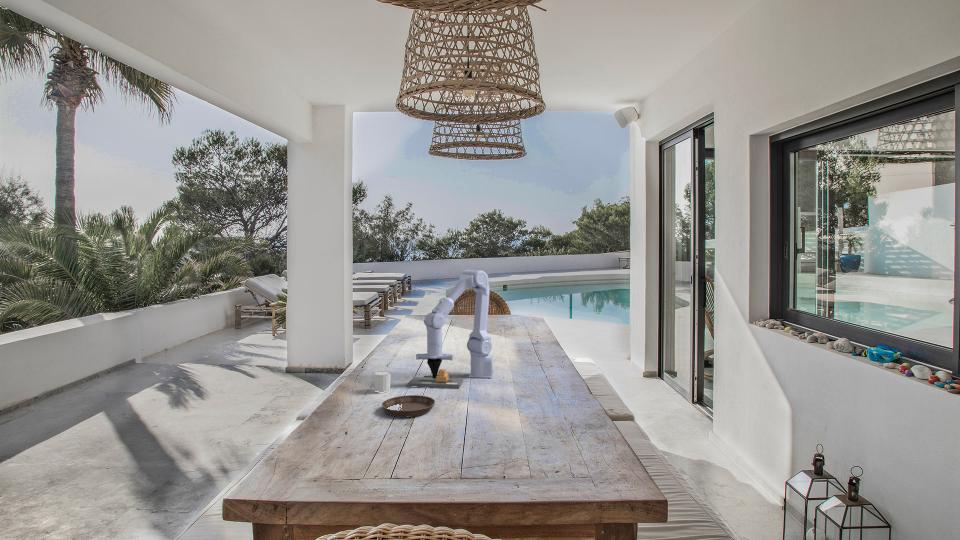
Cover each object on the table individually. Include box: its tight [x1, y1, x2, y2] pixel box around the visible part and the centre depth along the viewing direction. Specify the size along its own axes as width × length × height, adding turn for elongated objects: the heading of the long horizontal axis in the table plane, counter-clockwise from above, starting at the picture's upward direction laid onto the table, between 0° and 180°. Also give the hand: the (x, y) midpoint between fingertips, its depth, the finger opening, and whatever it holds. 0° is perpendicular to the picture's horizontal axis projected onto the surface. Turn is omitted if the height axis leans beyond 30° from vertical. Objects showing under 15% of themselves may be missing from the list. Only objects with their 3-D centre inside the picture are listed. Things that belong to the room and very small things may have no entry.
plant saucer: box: [381, 394, 436, 418], centre depth 196 cm, size 18×18×3 cm
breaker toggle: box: [436, 368, 450, 382], centre depth 229 cm, size 4×5×4 cm
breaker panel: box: [407, 376, 464, 390], centre depth 230 cm, size 20×10×2 cm, turn 82°
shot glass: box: [372, 370, 392, 392], centre depth 220 cm, size 7×7×7 cm
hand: (434, 377), depth 230 cm, fingers closed
